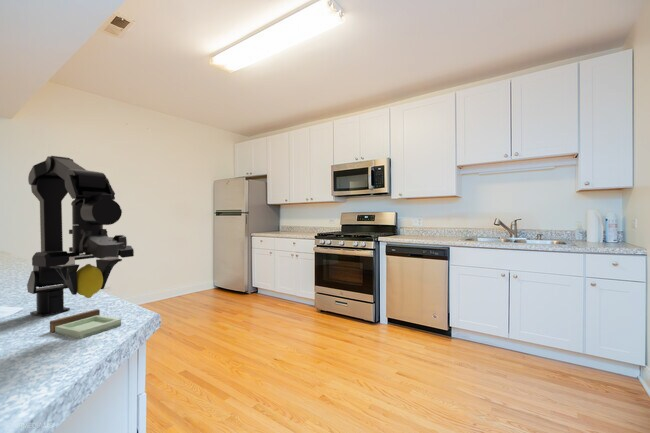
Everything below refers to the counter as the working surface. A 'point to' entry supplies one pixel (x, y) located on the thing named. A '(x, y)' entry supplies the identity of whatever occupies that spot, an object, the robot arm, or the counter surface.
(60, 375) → the counter surface
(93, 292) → the lemon
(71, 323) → the dish
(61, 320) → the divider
